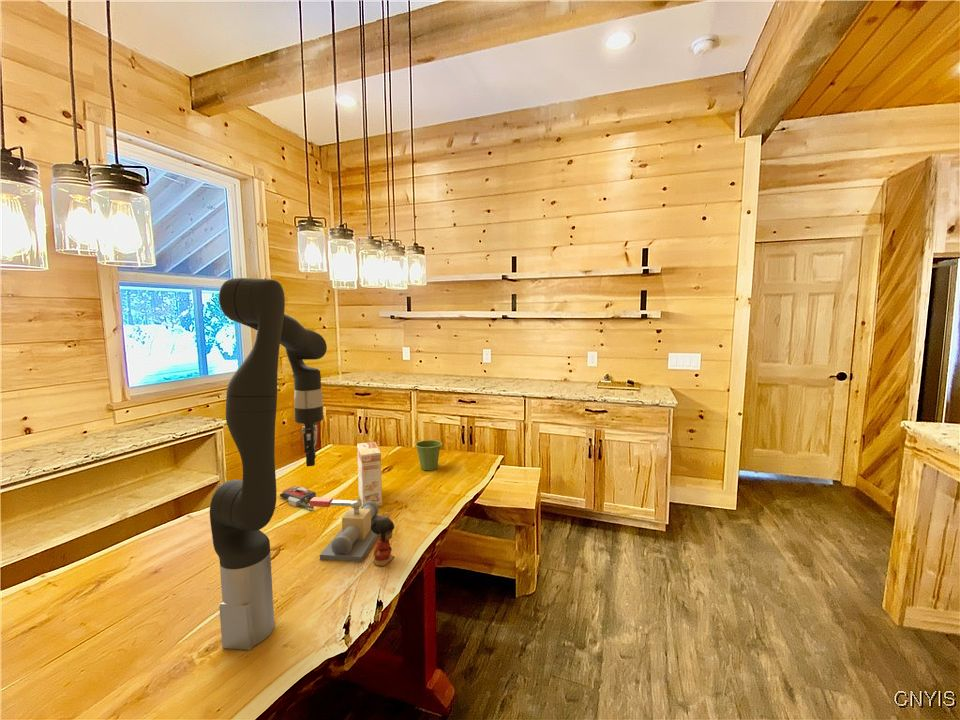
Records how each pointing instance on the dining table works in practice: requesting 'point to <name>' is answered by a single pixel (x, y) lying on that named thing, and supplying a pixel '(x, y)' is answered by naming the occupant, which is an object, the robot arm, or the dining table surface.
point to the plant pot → (428, 453)
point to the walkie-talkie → (298, 496)
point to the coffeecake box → (369, 473)
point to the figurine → (382, 541)
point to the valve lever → (334, 502)
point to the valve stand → (354, 535)
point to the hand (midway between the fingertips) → (311, 462)
